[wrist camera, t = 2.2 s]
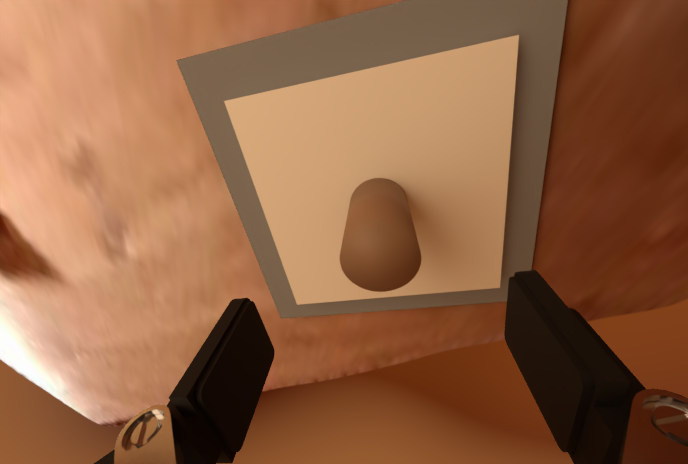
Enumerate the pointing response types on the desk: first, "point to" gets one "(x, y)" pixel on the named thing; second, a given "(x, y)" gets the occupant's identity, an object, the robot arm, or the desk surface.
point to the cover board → (387, 174)
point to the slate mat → (372, 51)
